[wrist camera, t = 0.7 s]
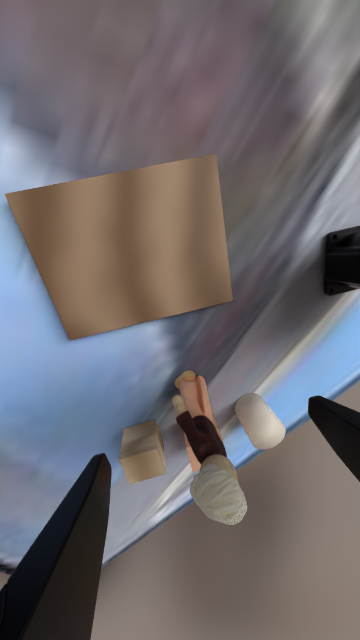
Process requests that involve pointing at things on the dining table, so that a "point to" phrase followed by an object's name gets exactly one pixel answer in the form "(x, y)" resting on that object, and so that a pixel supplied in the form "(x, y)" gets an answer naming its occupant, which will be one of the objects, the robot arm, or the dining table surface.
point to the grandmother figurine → (208, 453)
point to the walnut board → (128, 244)
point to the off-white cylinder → (259, 421)
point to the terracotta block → (192, 457)
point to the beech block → (142, 452)
